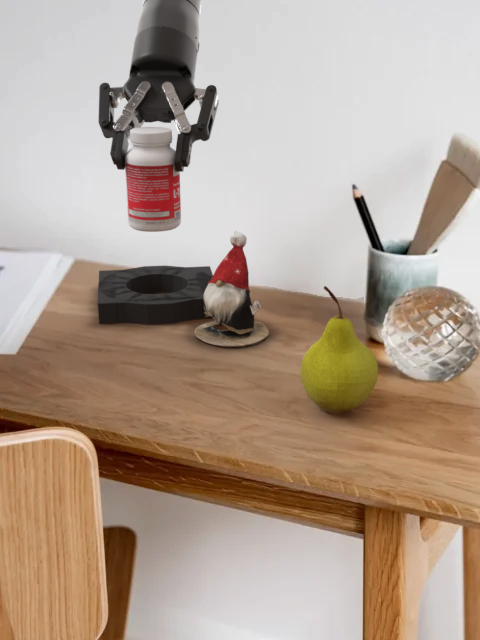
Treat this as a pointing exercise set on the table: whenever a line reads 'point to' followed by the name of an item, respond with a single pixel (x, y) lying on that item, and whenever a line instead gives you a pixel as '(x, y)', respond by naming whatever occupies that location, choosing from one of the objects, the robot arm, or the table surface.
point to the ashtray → (142, 308)
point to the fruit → (338, 367)
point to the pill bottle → (152, 181)
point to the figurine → (231, 302)
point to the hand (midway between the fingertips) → (149, 166)
